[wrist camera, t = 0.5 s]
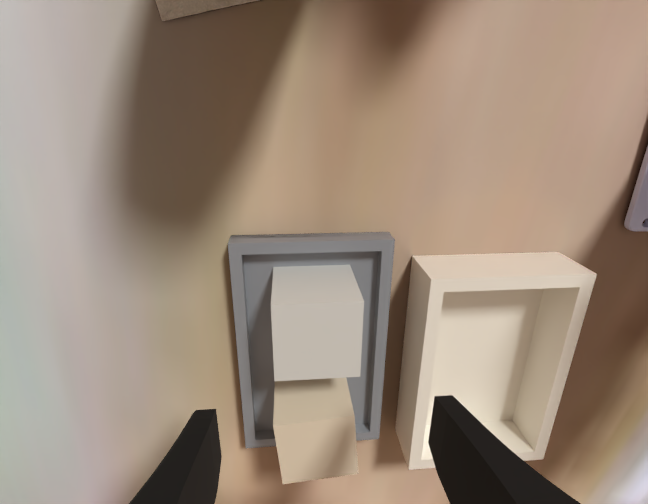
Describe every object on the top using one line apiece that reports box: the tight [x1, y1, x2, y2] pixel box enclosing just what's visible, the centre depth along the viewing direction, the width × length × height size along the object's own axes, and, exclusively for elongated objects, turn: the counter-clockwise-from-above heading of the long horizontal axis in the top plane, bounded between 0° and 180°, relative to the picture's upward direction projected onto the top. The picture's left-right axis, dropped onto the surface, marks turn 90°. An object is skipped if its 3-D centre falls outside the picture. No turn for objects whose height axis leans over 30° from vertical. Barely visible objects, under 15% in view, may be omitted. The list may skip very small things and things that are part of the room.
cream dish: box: [395, 252, 597, 470], centre depth 22 cm, size 8×12×3 cm
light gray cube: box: [271, 265, 364, 381], centre depth 19 cm, size 4×4×4 cm
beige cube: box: [273, 377, 358, 484], centre depth 22 cm, size 4×4×4 cm
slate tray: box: [228, 232, 395, 448], centre depth 22 cm, size 8×13×1 cm, turn 0°
